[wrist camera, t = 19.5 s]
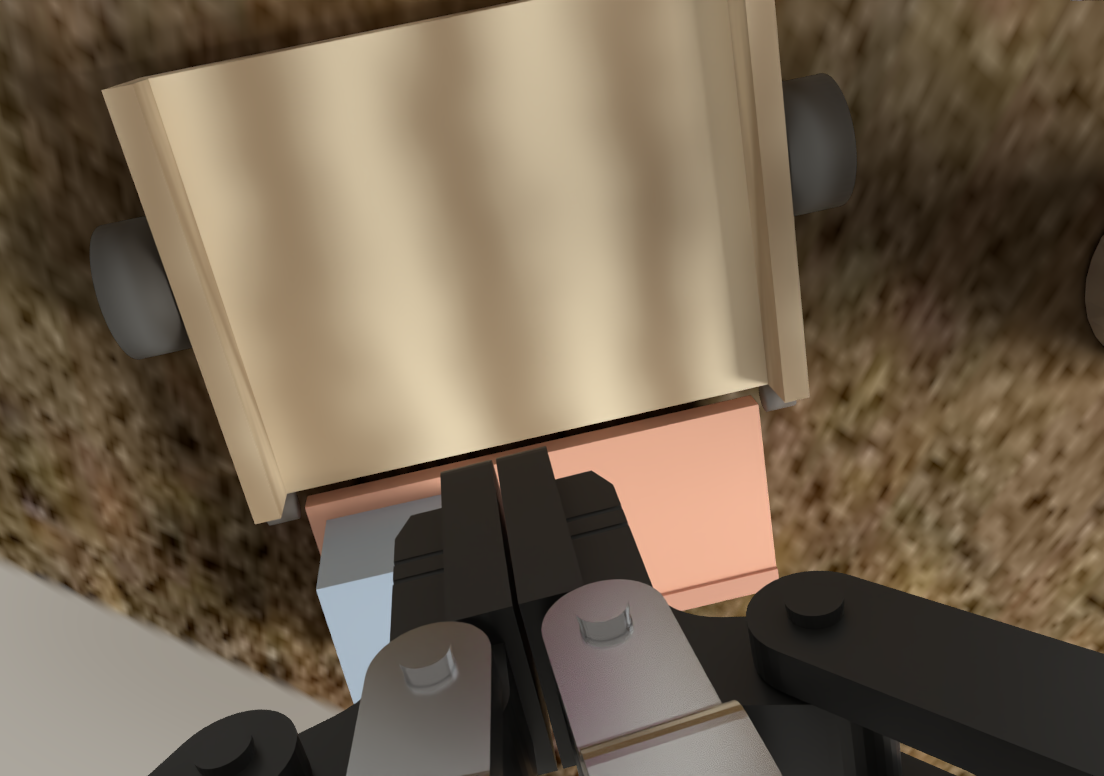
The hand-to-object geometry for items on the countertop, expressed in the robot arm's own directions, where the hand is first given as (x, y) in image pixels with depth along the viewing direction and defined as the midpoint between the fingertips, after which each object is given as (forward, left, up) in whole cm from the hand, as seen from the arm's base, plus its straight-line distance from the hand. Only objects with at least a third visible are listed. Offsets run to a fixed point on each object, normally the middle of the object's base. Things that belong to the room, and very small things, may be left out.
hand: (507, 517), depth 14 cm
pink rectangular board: (-5, +10, -25) cm, 27 cm away
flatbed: (-2, +3, -27) cm, 27 cm away
